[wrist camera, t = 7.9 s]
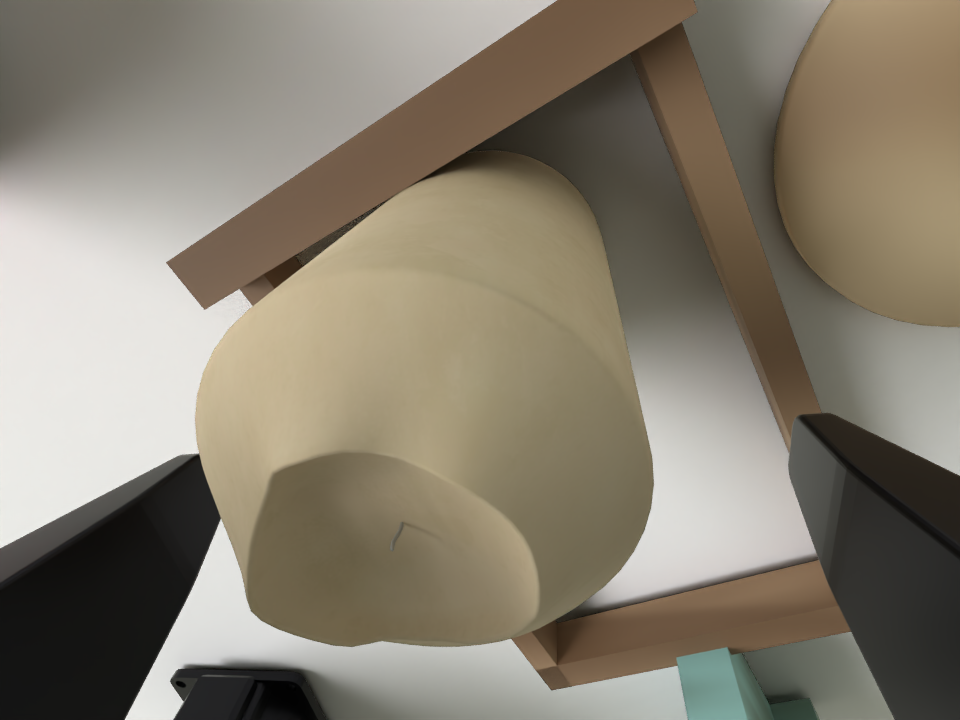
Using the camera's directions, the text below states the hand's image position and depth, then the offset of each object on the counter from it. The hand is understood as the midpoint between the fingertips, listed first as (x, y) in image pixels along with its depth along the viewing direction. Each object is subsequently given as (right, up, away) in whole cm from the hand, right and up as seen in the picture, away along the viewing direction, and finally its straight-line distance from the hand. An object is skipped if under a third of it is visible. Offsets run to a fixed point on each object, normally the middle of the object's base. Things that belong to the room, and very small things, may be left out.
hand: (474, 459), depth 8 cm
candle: (0, +4, +6) cm, 7 cm away
